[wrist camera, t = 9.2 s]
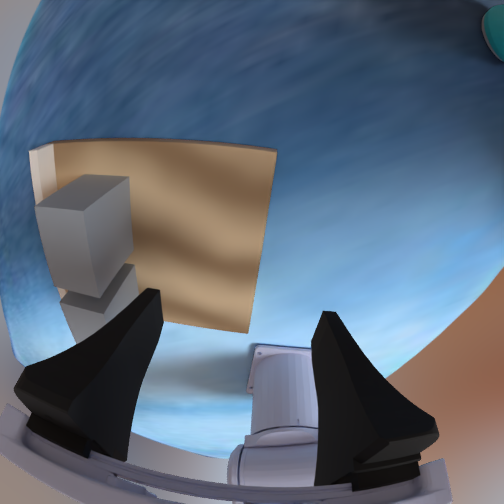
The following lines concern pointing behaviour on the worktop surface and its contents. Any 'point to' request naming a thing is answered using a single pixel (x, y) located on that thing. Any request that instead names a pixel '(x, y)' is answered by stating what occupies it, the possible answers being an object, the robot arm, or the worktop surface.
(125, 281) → the faced box
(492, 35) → the beverage can
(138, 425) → the worktop surface
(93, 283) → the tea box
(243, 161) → the shelf board
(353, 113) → the worktop surface
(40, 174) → the rail
